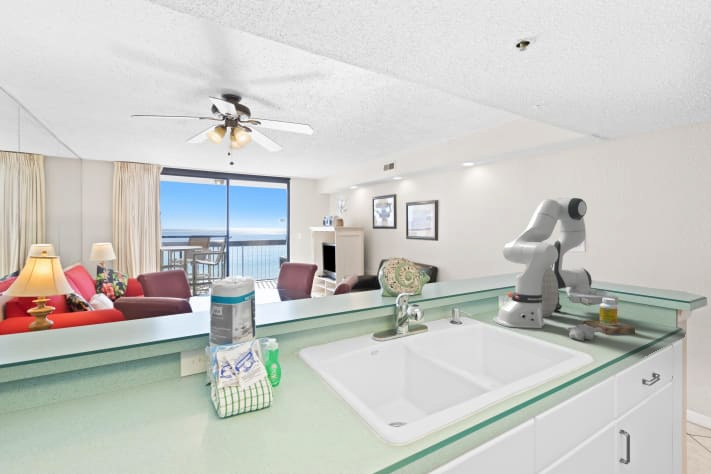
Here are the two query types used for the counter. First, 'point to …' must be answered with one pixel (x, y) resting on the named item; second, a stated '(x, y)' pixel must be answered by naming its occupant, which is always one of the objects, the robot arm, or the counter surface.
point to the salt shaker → (558, 306)
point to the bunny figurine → (583, 332)
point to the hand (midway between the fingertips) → (601, 302)
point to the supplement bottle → (608, 312)
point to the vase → (549, 292)
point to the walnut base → (611, 327)
